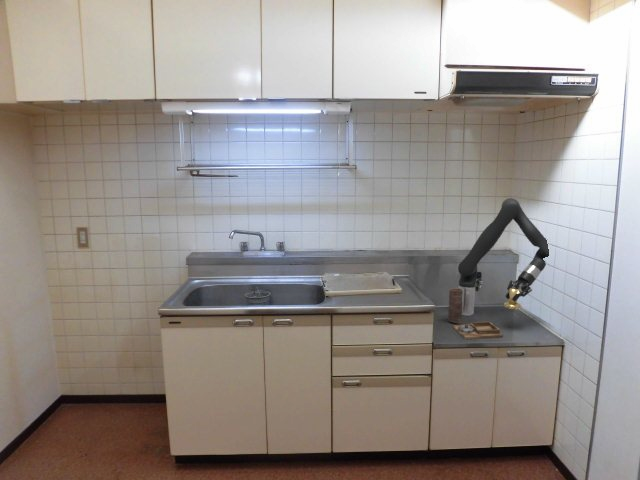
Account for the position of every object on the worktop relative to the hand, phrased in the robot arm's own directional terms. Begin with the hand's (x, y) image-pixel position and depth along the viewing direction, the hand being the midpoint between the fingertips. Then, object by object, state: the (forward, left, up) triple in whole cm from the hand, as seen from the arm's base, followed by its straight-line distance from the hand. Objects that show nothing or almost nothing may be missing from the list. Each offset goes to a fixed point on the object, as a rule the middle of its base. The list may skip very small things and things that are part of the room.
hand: (510, 299), depth 219 cm
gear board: (+2, -18, -17) cm, 25 cm away
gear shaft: (-1, +2, -5) cm, 5 cm away
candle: (-13, -24, -17) cm, 33 cm away
